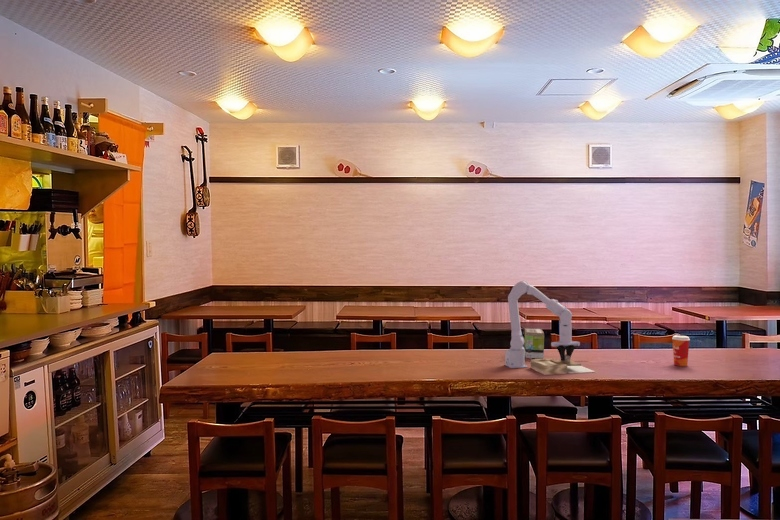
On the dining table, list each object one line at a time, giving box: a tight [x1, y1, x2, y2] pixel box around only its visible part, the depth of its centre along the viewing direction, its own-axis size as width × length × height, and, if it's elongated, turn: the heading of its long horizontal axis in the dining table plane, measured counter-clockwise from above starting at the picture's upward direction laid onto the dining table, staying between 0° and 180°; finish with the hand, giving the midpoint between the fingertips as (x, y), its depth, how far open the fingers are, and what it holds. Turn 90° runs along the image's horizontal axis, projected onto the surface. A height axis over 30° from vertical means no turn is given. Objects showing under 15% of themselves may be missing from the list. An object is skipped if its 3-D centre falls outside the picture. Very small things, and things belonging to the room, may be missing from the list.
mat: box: [567, 365, 596, 374], centre depth 251 cm, size 14×14×1 cm
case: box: [530, 358, 568, 376], centre depth 249 cm, size 12×14×4 cm
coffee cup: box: [671, 334, 691, 367], centre depth 261 cm, size 8×8×15 cm
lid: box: [550, 353, 582, 366], centre depth 250 cm, size 11×11×4 cm
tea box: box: [523, 328, 545, 360], centre depth 284 cm, size 15×10×15 cm, turn 168°
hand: (565, 360), depth 250 cm, fingers closed on lid, 2 cm apart
